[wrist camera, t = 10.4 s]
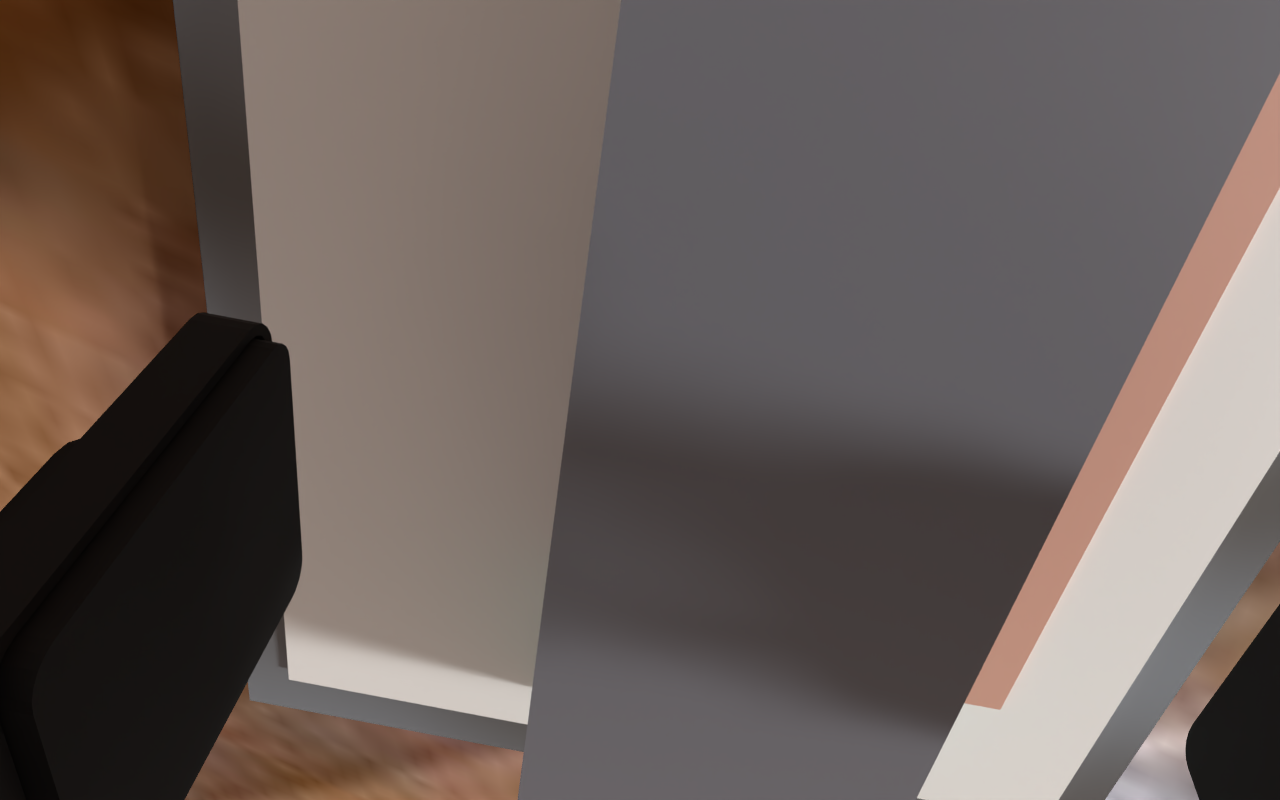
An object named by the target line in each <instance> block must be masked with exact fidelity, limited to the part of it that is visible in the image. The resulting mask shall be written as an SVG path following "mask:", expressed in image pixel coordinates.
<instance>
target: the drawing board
mask: <svg viewBox="0 0 1280 800" xmlns="http://www.w3.org/2000/svg"><path fill="white" fill-rule="evenodd" d="M173 5H174V14H175V23H176V33H177V42H178V51H179V60H180V69H181V78H182V87H183V96H184V105H185V114H186V123H187V133H188V142H189V151H190V160H191V169H192V178H193V187H194V196H195V205H196V214H197V223H198V232H199V242H200V251H201V260H202V269H203V278H204V287H205V296H206V305H207V313H209V314H215V315H220V316H225V317H231V318H236V319H241V320H247V321H252V322H257V323H263V324H264V325H265V326H267V327H268V329H269V331H270V333H271V337H272V342H277V343H282V344H284V345H285V346H286V347H287V349H288V351H289V357H290V368H291V384H292V400H293V416H294V431H295V447H296V463H297V478H298V494H299V510H300V526H301V541H302V568H301V574H300V578H299V582H298V585H297V588H296V591H295V593H294V595H293V597H292V599H291V601H290V603H289V605H288V607H287V609H286V611H285V612H284V614H283V616H282V618H281V620H280V622H279V624H278V625H277V627H276V629H275V631H274V633H273V635H272V637H271V639H270V640H269V642H268V644H267V646H266V648H265V650H264V652H263V654H262V655H261V657H260V659H259V661H258V663H257V665H256V667H255V669H254V670H253V672H252V674H251V676H250V678H249V680H248V687H249V696H250V700H252V701H257V702H263V703H268V704H273V705H278V706H284V707H289V708H294V709H300V710H305V711H310V712H315V713H321V714H326V715H331V716H337V717H342V718H347V719H352V720H358V721H363V722H368V723H374V724H379V725H384V726H389V727H395V728H400V729H405V730H411V731H416V732H421V733H426V734H432V735H437V736H442V737H448V738H453V739H458V740H463V741H469V742H474V743H479V744H485V745H490V746H495V747H500V748H506V749H511V750H516V751H522V752H524V747H525V740H526V732H527V724H528V717H529V709H530V701H531V693H532V686H533V678H534V670H535V662H536V655H537V647H538V639H539V631H540V624H541V616H542V608H543V600H544V593H545V585H546V577H547V570H548V562H549V554H550V546H551V539H552V531H553V523H554V515H555V508H556V500H557V492H558V484H559V477H560V469H561V461H562V453H563V446H564V438H565V430H566V423H567V415H568V407H569V399H570V392H571V384H572V376H573V368H574V361H575V353H576V345H577V337H578V330H579V322H580V314H581V306H582V299H583V291H584V283H585V276H586V268H587V260H588V252H589V245H590V237H591V229H592V221H593V214H594V206H595V198H596V190H597V183H598V175H599V167H600V159H601V152H602V144H603V136H604V129H605V121H606V113H607V105H608V98H609V90H610V82H611V74H612V67H613V59H614V51H615V43H616V36H617V28H618V20H619V12H620V5H621V0H173ZM1279 542H1280V74H1279V76H1278V78H1277V80H1276V82H1275V84H1274V86H1273V88H1272V90H1271V92H1270V94H1269V96H1268V98H1267V100H1266V102H1265V104H1264V106H1263V108H1262V110H1261V112H1260V114H1259V116H1258V118H1257V120H1256V122H1255V124H1254V126H1253V128H1252V130H1251V132H1250V134H1249V136H1248V138H1247V140H1246V142H1245V144H1244V146H1243V148H1242V150H1241V152H1240V154H1239V156H1238V158H1237V160H1236V162H1235V164H1234V166H1233V168H1232V170H1231V172H1230V174H1229V176H1228V178H1227V180H1226V182H1225V184H1224V186H1223V187H1222V189H1221V191H1220V193H1219V195H1218V197H1217V199H1216V201H1215V203H1214V205H1213V207H1212V209H1211V211H1210V213H1209V215H1208V217H1207V219H1206V221H1205V223H1204V225H1203V227H1202V229H1201V231H1200V233H1199V235H1198V237H1197V239H1196V241H1195V243H1194V245H1193V247H1192V249H1191V251H1190V253H1189V255H1188V257H1187V259H1186V261H1185V263H1184V265H1183V267H1182V269H1181V271H1180V273H1179V275H1178V277H1177V279H1176V281H1175V283H1174V285H1173V287H1172V289H1171V291H1170V293H1169V295H1168V297H1167V299H1166V301H1165V303H1164V305H1163V307H1162V309H1161V311H1160V313H1159V315H1158V317H1157V319H1156V321H1155V323H1154V325H1153V327H1152V329H1151V331H1150V333H1149V335H1148V337H1147V339H1146V341H1145V343H1144V345H1143V347H1142V349H1141V351H1140V353H1139V355H1138V357H1137V359H1136V361H1135V363H1134V365H1133V367H1132V369H1131V371H1130V373H1129V375H1128V377H1127V379H1126V381H1125V383H1124V385H1123V387H1122V389H1121V391H1120V393H1119V395H1118V397H1117V399H1116V401H1115V403H1114V405H1113V407H1112V409H1111V411H1110V413H1109V415H1108V417H1107V419H1106V421H1105V423H1104V425H1103V427H1102V429H1101V431H1100V433H1099V435H1098V437H1097V439H1096V441H1095V443H1094V445H1093V447H1092V449H1091V451H1090V453H1089V455H1088V457H1087V459H1086V461H1085V463H1084V465H1083V467H1082V469H1081V471H1080V473H1079V475H1078V477H1077V479H1076V481H1075V483H1074V485H1073V487H1072V489H1071V491H1070V493H1069V495H1068V497H1067V499H1066V501H1065V503H1064V505H1063V507H1062V509H1061V511H1060V513H1059V515H1058V517H1057V519H1056V521H1055V523H1054V525H1053V527H1052V529H1051V531H1050V533H1049V535H1048V537H1047V539H1046V541H1045V543H1044V545H1043V547H1042V549H1041V551H1040V553H1039V555H1038V557H1037V559H1036V561H1035V563H1034V565H1033V567H1032V569H1031V571H1030V573H1029V575H1028V577H1027V579H1026V581H1025V583H1024V585H1023V587H1022V589H1021V591H1020V593H1019V595H1018V597H1017V599H1016V601H1015V603H1014V605H1013V607H1012V609H1011V611H1010V613H1009V615H1008V617H1007V619H1006V621H1005V623H1004V625H1003V627H1002V629H1001V631H1000V633H999V635H998V637H997V639H996V641H995V643H994V645H993V647H992V649H991V651H990V653H989V655H988V657H987V659H986V661H985V663H984V665H983V667H982V669H981V671H980V673H979V675H978V677H977V679H976V681H975V683H974V685H973V687H972V689H971V691H970V693H969V695H968V697H967V699H966V701H965V703H964V705H963V707H962V709H961V711H960V713H959V715H958V717H957V719H956V721H955V723H954V725H953V727H952V729H951V731H950V733H949V735H948V737H947V739H946V741H945V743H944V745H943V747H942V749H941V751H940V753H939V755H938V757H937V759H936V761H935V763H934V765H933V767H932V769H931V771H930V773H929V775H928V777H927V778H926V780H925V782H924V784H923V786H922V788H921V790H920V792H919V794H918V796H917V798H916V800H1105V799H1106V797H1107V796H1108V794H1109V793H1110V791H1111V790H1112V788H1113V787H1114V785H1115V784H1116V782H1117V781H1118V779H1119V778H1120V776H1121V775H1122V773H1123V772H1124V771H1125V769H1126V768H1127V766H1128V765H1129V763H1130V762H1131V760H1132V759H1133V757H1134V756H1135V754H1136V753H1137V751H1138V750H1139V748H1140V747H1141V745H1142V744H1143V742H1144V741H1145V740H1146V738H1147V737H1148V735H1149V734H1150V732H1151V731H1152V729H1153V728H1154V726H1155V725H1156V723H1157V722H1158V720H1159V719H1160V717H1161V716H1162V714H1163V713H1164V711H1165V710H1166V709H1167V707H1168V706H1169V704H1170V703H1171V701H1172V700H1173V698H1174V697H1175V695H1176V694H1177V692H1178V691H1179V689H1180V688H1181V686H1182V685H1183V683H1184V682H1185V681H1186V679H1187V678H1188V676H1189V675H1190V673H1191V672H1192V670H1193V669H1194V667H1195V666H1196V664H1197V663H1198V661H1199V660H1200V658H1201V657H1202V655H1203V654H1204V652H1205V651H1206V650H1207V648H1208V647H1209V645H1210V644H1211V642H1212V641H1213V639H1214V638H1215V636H1216V635H1217V633H1218V632H1219V630H1220V629H1221V627H1222V626H1223V624H1224V623H1225V621H1226V620H1227V619H1228V617H1229V616H1230V614H1231V613H1232V611H1233V610H1234V608H1235V607H1236V605H1237V604H1238V602H1239V601H1240V599H1241V598H1242V596H1243V595H1244V593H1245V592H1246V590H1247V589H1248V588H1249V586H1250V585H1251V583H1252V582H1253V580H1254V579H1255V577H1256V576H1257V574H1258V573H1259V571H1260V570H1261V568H1262V567H1263V565H1264V564H1265V562H1266V561H1267V559H1268V558H1269V557H1270V555H1271V554H1272V552H1273V551H1274V549H1275V548H1276V546H1277V545H1278V543H1279Z"/></svg>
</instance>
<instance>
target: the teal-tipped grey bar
mask: <svg viewBox="0 0 1280 800" xmlns="http://www.w3.org/2000/svg"><path fill="white" fill-rule="evenodd" d="M1279 74H1280V0H621V5H620V12H619V20H618V28H617V36H616V43H615V51H614V59H613V67H612V74H611V82H610V90H609V98H608V105H607V113H606V121H605V129H604V136H603V144H602V152H601V159H600V167H599V175H598V183H597V190H596V198H595V206H594V214H593V221H592V229H591V237H590V245H589V252H588V260H587V268H586V276H585V283H584V291H583V299H582V306H581V314H580V322H579V330H578V337H577V345H576V353H575V361H574V368H573V376H572V384H571V392H570V399H569V407H568V415H567V423H566V430H565V438H564V446H563V453H562V461H561V469H560V477H559V484H558V492H557V500H556V508H555V515H554V523H553V531H552V539H551V546H550V554H549V562H548V570H547V577H546V585H545V593H544V600H543V608H542V616H541V624H540V631H539V639H538V647H537V655H536V662H535V670H534V678H533V686H532V693H531V701H530V709H529V717H528V724H527V732H526V740H525V747H524V755H523V763H522V771H521V778H520V786H519V794H518V800H916V798H917V796H918V794H919V792H920V790H921V788H922V786H923V784H924V782H925V780H926V778H927V777H928V775H929V773H930V771H931V769H932V767H933V765H934V763H935V761H936V759H937V757H938V755H939V753H940V751H941V749H942V747H943V745H944V743H945V741H946V739H947V737H948V735H949V733H950V731H951V729H952V727H953V725H954V723H955V721H956V719H957V717H958V715H959V713H960V711H961V709H962V707H963V705H964V703H965V701H966V699H967V697H968V695H969V693H970V691H971V689H972V687H973V685H974V683H975V681H976V679H977V677H978V675H979V673H980V671H981V669H982V667H983V665H984V663H985V661H986V659H987V657H988V655H989V653H990V651H991V649H992V647H993V645H994V643H995V641H996V639H997V637H998V635H999V633H1000V631H1001V629H1002V627H1003V625H1004V623H1005V621H1006V619H1007V617H1008V615H1009V613H1010V611H1011V609H1012V607H1013V605H1014V603H1015V601H1016V599H1017V597H1018V595H1019V593H1020V591H1021V589H1022V587H1023V585H1024V583H1025V581H1026V579H1027V577H1028V575H1029V573H1030V571H1031V569H1032V567H1033V565H1034V563H1035V561H1036V559H1037V557H1038V555H1039V553H1040V551H1041V549H1042V547H1043V545H1044V543H1045V541H1046V539H1047V537H1048V535H1049V533H1050V531H1051V529H1052V527H1053V525H1054V523H1055V521H1056V519H1057V517H1058V515H1059V513H1060V511H1061V509H1062V507H1063V505H1064V503H1065V501H1066V499H1067V497H1068V495H1069V493H1070V491H1071V489H1072V487H1073V485H1074V483H1075V481H1076V479H1077V477H1078V475H1079V473H1080V471H1081V469H1082V467H1083V465H1084V463H1085V461H1086V459H1087V457H1088V455H1089V453H1090V451H1091V449H1092V447H1093V445H1094V443H1095V441H1096V439H1097V437H1098V435H1099V433H1100V431H1101V429H1102V427H1103V425H1104V423H1105V421H1106V419H1107V417H1108V415H1109V413H1110V411H1111V409H1112V407H1113V405H1114V403H1115V401H1116V399H1117V397H1118V395H1119V393H1120V391H1121V389H1122V387H1123V385H1124V383H1125V381H1126V379H1127V377H1128V375H1129V373H1130V371H1131V369H1132V367H1133V365H1134V363H1135V361H1136V359H1137V357H1138V355H1139V353H1140V351H1141V349H1142V347H1143V345H1144V343H1145V341H1146V339H1147V337H1148V335H1149V333H1150V331H1151V329H1152V327H1153V325H1154V323H1155V321H1156V319H1157V317H1158V315H1159V313H1160V311H1161V309H1162V307H1163V305H1164V303H1165V301H1166V299H1167V297H1168V295H1169V293H1170V291H1171V289H1172V287H1173V285H1174V283H1175V281H1176V279H1177V277H1178V275H1179V273H1180V271H1181V269H1182V267H1183V265H1184V263H1185V261H1186V259H1187V257H1188V255H1189V253H1190V251H1191V249H1192V247H1193V245H1194V243H1195V241H1196V239H1197V237H1198V235H1199V233H1200V231H1201V229H1202V227H1203V225H1204V223H1205V221H1206V219H1207V217H1208V215H1209V213H1210V211H1211V209H1212V207H1213V205H1214V203H1215V201H1216V199H1217V197H1218V195H1219V193H1220V191H1221V189H1222V187H1223V186H1224V184H1225V182H1226V180H1227V178H1228V176H1229V174H1230V172H1231V170H1232V168H1233V166H1234V164H1235V162H1236V160H1237V158H1238V156H1239V154H1240V152H1241V150H1242V148H1243V146H1244V144H1245V142H1246V140H1247V138H1248V136H1249V134H1250V132H1251V130H1252V128H1253V126H1254V124H1255V122H1256V120H1257V118H1258V116H1259V114H1260V112H1261V110H1262V108H1263V106H1264V104H1265V102H1266V100H1267V98H1268V96H1269V94H1270V92H1271V90H1272V88H1273V86H1274V84H1275V82H1276V80H1277V78H1278V76H1279Z"/></svg>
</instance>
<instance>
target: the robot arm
mask: <svg viewBox="0 0 1280 800" xmlns="http://www.w3.org/2000/svg"><path fill="white" fill-rule="evenodd" d="M301 568H302V541H301V526H300V510H299V494H298V478H297V463H296V447H295V431H294V416H293V400H292V384H291V368H290V357H289V351H288V349H287V347H286V346H285V345H284V344H282V343H277V342H272V337H271V333H270V331H269V329H268V327H267V326H265V325H264V324H263V323H257V322H252V321H247V320H241V319H236V318H231V317H225V316H220V315H215V314H209V313H197V314H196V315H195V316H193V317H192V318H191V319H190V320H189V321H188V322H187V323H186V324H185V325H184V326H183V327H182V328H181V329H180V331H179V332H178V333H177V334H176V335H175V336H174V337H173V338H172V339H171V340H170V341H169V343H168V344H167V345H166V346H165V347H164V348H163V349H162V350H161V351H160V352H159V353H158V355H157V356H156V357H155V358H154V359H153V360H152V361H151V362H150V363H149V364H148V365H147V367H146V368H145V369H144V370H143V371H142V372H141V373H140V374H139V375H138V376H137V377H136V379H135V380H134V381H133V382H132V383H131V384H130V385H129V386H128V387H127V388H126V389H125V391H124V392H123V393H122V394H121V395H120V396H119V397H118V398H117V399H116V400H115V401H114V403H113V404H112V405H111V406H110V407H109V408H108V409H107V410H106V411H105V412H104V413H103V415H102V416H101V417H100V418H99V419H98V420H97V421H96V422H95V423H94V424H93V425H92V427H91V428H90V429H89V430H88V431H87V432H86V433H85V434H84V435H83V436H82V437H81V439H78V440H75V441H72V442H69V443H67V444H66V445H65V446H63V447H62V448H61V449H60V450H58V451H57V452H56V453H55V454H54V455H53V456H52V457H51V458H50V459H49V460H48V461H47V462H46V463H45V464H44V465H43V466H42V468H41V469H40V470H39V471H38V472H37V473H36V474H35V475H34V476H33V477H32V478H31V479H30V480H29V481H28V483H27V484H26V485H25V486H24V487H23V488H22V489H21V490H20V491H19V492H18V493H17V494H16V495H15V497H14V498H13V499H12V500H11V501H10V502H9V503H8V504H7V505H6V506H5V507H4V508H3V509H2V510H1V512H0V800H185V798H186V796H187V794H188V792H189V790H190V788H191V786H192V785H193V783H194V781H195V779H196V777H197V775H198V773H199V771H200V770H201V768H202V766H203V764H204V762H205V760H206V758H207V757H208V755H209V753H210V751H211V749H212V747H213V745H214V743H215V742H216V740H217V738H218V736H219V734H220V732H221V730H222V728H223V727H224V725H225V723H226V721H227V719H228V717H229V715H230V713H231V712H232V710H233V708H234V706H235V704H236V702H237V700H238V698H239V697H240V695H241V693H242V691H243V689H244V687H245V685H246V684H247V682H248V680H249V678H250V676H251V674H252V672H253V670H254V669H255V667H256V665H257V663H258V661H259V659H260V657H261V655H262V654H263V652H264V650H265V648H266V646H267V644H268V642H269V640H270V639H271V637H272V635H273V633H274V631H275V629H276V627H277V625H278V624H279V622H280V620H281V618H282V616H283V614H284V612H285V611H286V609H287V607H288V605H289V603H290V601H291V599H292V597H293V595H294V593H295V591H296V588H297V585H298V582H299V578H300V574H301ZM1186 761H1187V765H1188V769H1189V772H1190V775H1191V777H1192V780H1193V783H1194V786H1195V789H1196V791H1197V794H1198V797H1199V800H1280V604H1279V606H1278V607H1277V609H1276V610H1275V611H1274V613H1273V614H1272V616H1271V617H1270V618H1269V620H1268V621H1267V622H1266V624H1265V625H1264V627H1263V628H1262V629H1261V631H1260V632H1259V633H1258V635H1257V636H1256V638H1255V639H1254V640H1253V642H1252V643H1251V645H1250V646H1249V647H1248V649H1247V650H1246V651H1245V653H1244V654H1243V656H1242V657H1241V658H1240V660H1239V661H1238V662H1237V664H1236V665H1235V667H1234V668H1233V669H1232V671H1231V672H1230V674H1229V675H1228V676H1227V678H1226V679H1225V680H1224V682H1223V683H1222V685H1221V686H1220V687H1219V689H1218V690H1217V692H1216V693H1215V694H1214V696H1213V697H1212V698H1211V700H1210V701H1209V703H1208V704H1207V705H1206V707H1205V708H1204V709H1203V711H1202V712H1201V714H1200V715H1199V716H1198V718H1197V719H1196V721H1195V722H1194V723H1193V725H1192V727H1191V729H1190V730H1189V733H1188V737H1187V740H1186Z"/></svg>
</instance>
